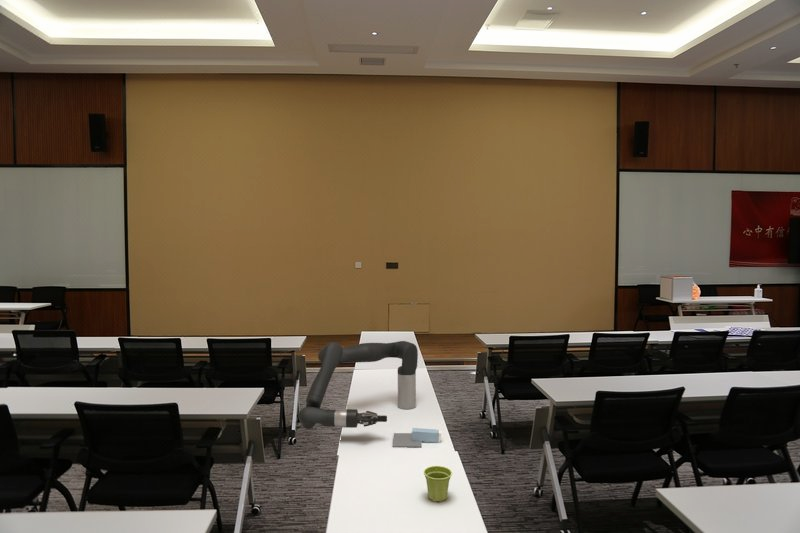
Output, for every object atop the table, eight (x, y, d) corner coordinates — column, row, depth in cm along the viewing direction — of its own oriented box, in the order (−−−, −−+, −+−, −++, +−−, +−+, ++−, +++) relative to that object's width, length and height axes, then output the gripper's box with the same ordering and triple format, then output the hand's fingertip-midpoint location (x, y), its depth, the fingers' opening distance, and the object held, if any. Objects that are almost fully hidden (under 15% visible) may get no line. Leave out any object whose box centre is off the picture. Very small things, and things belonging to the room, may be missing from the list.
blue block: (412, 427, 219) (440, 429, 219) (412, 436, 220) (439, 439, 219) (412, 431, 215) (441, 433, 215) (411, 440, 216) (440, 442, 215)
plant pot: (450, 490, 175) (450, 465, 175) (453, 504, 166) (453, 478, 165) (422, 490, 175) (422, 465, 174) (425, 505, 165) (424, 479, 165)
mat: (393, 434, 225) (393, 433, 225) (421, 434, 224) (421, 433, 224) (392, 447, 211) (392, 446, 211) (421, 447, 210) (421, 446, 210)
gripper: (344, 414, 211) (386, 415, 210) (348, 404, 224) (387, 404, 223) (344, 432, 211) (386, 433, 211) (348, 421, 224) (387, 421, 224)
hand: (386, 418), depth 217 cm, fingers closed
